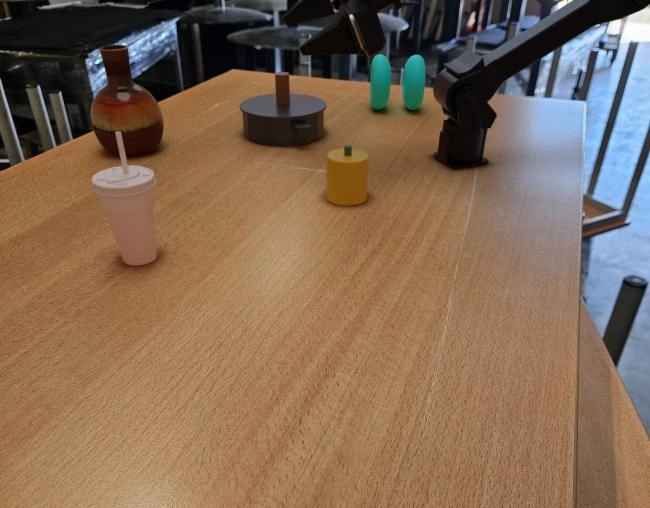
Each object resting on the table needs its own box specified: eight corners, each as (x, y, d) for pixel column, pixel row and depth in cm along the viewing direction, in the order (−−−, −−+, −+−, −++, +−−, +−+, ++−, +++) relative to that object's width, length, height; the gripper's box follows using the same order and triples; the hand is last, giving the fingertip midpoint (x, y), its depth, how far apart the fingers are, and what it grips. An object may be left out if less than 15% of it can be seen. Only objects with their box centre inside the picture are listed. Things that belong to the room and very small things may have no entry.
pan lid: (306, 96, 108) (306, 61, 104) (340, 117, 97) (341, 79, 93) (229, 104, 103) (226, 68, 99) (255, 128, 92) (253, 88, 88)
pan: (300, 114, 112) (299, 90, 109) (342, 144, 97) (343, 117, 95) (230, 122, 107) (228, 97, 104) (264, 155, 93) (263, 127, 90)
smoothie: (180, 251, 66) (160, 129, 58) (144, 276, 62) (117, 148, 54) (136, 240, 69) (111, 121, 60) (98, 264, 64) (65, 138, 56)
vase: (181, 145, 96) (166, 45, 87) (130, 165, 89) (109, 57, 80) (135, 134, 101) (117, 38, 92) (83, 152, 94) (58, 49, 85)
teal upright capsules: (422, 116, 111) (428, 60, 105) (371, 115, 111) (374, 60, 105) (416, 102, 119) (421, 50, 113) (368, 101, 119) (371, 49, 113)
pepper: (355, 187, 82) (357, 137, 78) (373, 201, 78) (376, 149, 74) (320, 193, 80) (320, 142, 76) (336, 208, 76) (337, 155, 72)
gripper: (355, -113, 74) (250, -49, 76) (406, -65, 63) (282, 8, 65) (380, -28, 83) (286, 27, 85) (429, 27, 71) (319, 89, 74)
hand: (292, 36), depth 77 cm, fingers open, 9 cm apart
